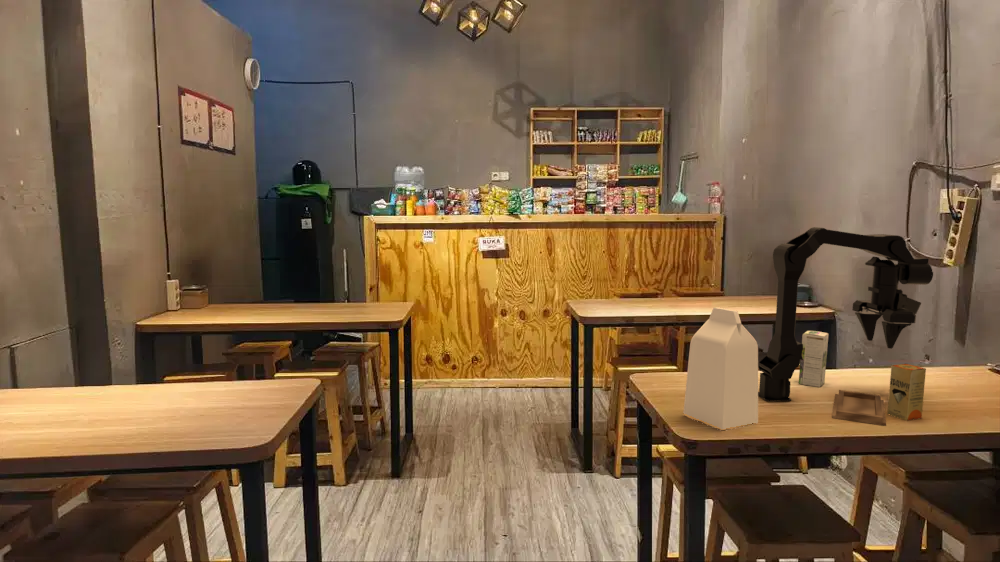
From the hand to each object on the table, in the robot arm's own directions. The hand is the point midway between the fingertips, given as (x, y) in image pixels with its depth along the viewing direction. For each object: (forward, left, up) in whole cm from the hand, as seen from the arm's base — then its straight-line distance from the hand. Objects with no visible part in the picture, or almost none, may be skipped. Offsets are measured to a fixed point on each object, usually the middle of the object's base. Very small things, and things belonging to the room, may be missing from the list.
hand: (879, 344), depth 169 cm
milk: (-47, -16, -14) cm, 51 cm away
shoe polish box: (-2, -14, -14) cm, 20 cm away
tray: (-10, -10, -14) cm, 20 cm away
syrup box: (-10, +13, -14) cm, 22 cm away
